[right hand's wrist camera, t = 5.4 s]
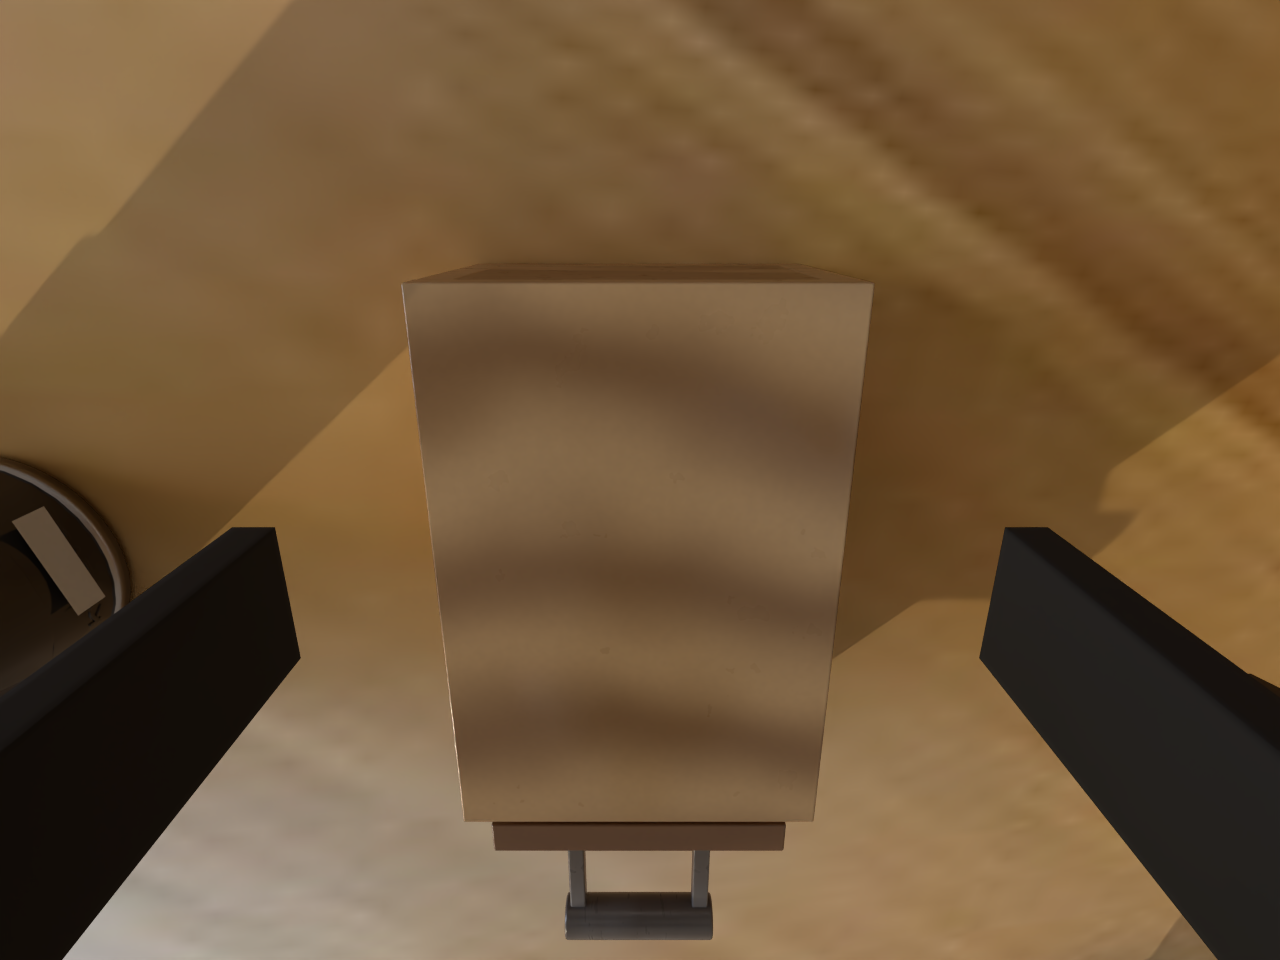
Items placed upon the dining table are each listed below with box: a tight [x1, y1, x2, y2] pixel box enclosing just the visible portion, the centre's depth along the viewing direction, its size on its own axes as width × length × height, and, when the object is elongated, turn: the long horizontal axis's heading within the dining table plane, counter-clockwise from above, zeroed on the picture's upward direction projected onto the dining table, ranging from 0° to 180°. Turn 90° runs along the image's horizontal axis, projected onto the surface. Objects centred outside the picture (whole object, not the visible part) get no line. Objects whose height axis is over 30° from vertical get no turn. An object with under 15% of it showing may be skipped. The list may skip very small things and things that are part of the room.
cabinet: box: [401, 264, 875, 822], centre depth 23 cm, size 17×11×8 cm
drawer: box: [492, 822, 786, 940], centre depth 25 cm, size 21×10×6 cm, turn 0°
